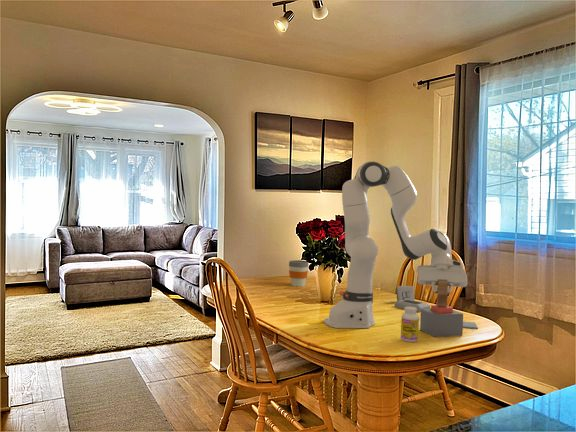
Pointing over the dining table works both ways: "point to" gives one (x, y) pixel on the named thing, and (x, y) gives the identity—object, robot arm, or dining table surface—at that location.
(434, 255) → the robot arm
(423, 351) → the dining table surface
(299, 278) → the reusable coffee cup
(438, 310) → the button
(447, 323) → the gray socket block
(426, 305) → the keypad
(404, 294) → the electrical switch
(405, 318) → the supplement bottle
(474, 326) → the pad
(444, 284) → the brown wooden block
